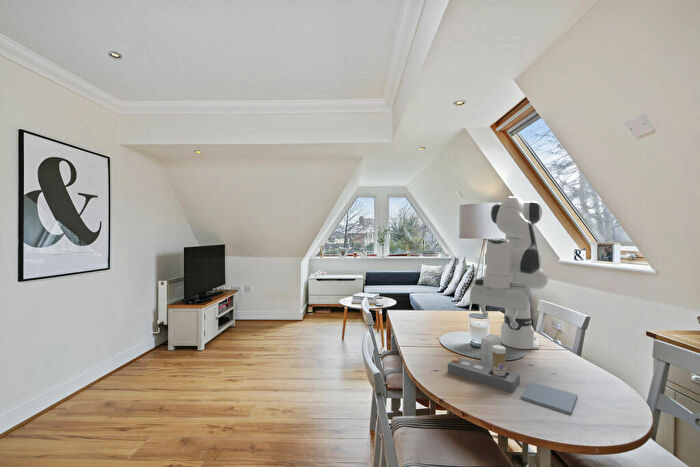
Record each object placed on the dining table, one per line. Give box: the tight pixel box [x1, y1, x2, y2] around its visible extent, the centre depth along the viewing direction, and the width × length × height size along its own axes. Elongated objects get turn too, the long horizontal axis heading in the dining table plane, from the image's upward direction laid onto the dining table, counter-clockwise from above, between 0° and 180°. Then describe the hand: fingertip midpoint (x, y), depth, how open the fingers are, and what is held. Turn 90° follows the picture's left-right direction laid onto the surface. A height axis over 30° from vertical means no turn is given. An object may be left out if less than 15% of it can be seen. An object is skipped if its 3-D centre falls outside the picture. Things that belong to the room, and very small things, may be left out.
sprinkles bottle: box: [492, 345, 507, 378], centre depth 116 cm, size 5×5×14 cm
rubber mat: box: [519, 381, 578, 416], centre depth 106 cm, size 14×14×1 cm
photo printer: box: [480, 333, 502, 366], centre depth 134 cm, size 10×4×12 cm, turn 123°
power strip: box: [447, 356, 521, 394], centre depth 121 cm, size 9×24×4 cm, turn 48°
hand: (498, 319), depth 117 cm, fingers open, 8 cm apart
